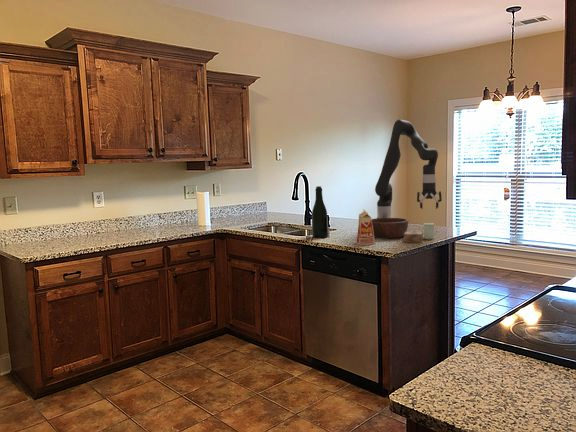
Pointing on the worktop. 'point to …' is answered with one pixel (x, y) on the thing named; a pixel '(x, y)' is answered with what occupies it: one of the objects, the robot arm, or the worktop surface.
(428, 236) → the canister
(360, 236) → the milk carton
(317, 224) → the beer bottle
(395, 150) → the robot arm
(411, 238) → the walnut block
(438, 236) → the worktop surface
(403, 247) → the worktop surface
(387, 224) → the wooden bowl
